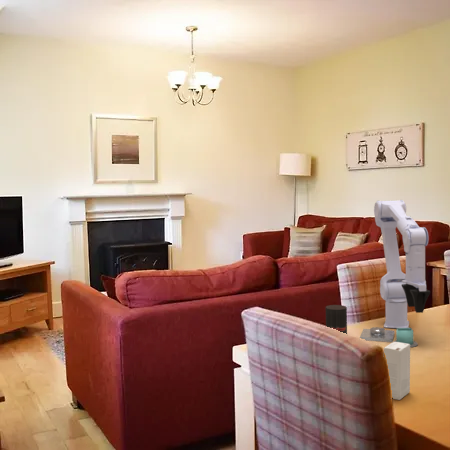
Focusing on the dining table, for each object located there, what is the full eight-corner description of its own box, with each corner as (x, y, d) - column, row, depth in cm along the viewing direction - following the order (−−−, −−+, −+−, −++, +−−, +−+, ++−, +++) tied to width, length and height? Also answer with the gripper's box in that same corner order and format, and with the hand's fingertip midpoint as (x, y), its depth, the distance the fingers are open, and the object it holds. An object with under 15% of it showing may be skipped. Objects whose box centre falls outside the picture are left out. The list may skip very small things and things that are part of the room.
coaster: (394, 340, 174) (394, 338, 174) (417, 341, 171) (417, 340, 171) (393, 346, 167) (393, 345, 167) (417, 348, 165) (417, 347, 165)
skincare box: (393, 388, 134) (392, 340, 133) (411, 393, 131) (410, 343, 130) (382, 396, 129) (382, 346, 128) (400, 401, 127) (400, 350, 126)
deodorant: (347, 362, 155) (346, 309, 153) (326, 361, 156) (325, 309, 155) (347, 355, 160) (346, 305, 159) (326, 354, 162) (325, 304, 160)
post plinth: (363, 331, 185) (363, 324, 184) (394, 333, 181) (394, 326, 181) (359, 339, 175) (359, 332, 175) (392, 342, 172) (392, 334, 172)
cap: (410, 340, 172) (410, 325, 171) (415, 345, 167) (415, 330, 166) (394, 340, 172) (394, 326, 172) (398, 345, 167) (398, 330, 167)
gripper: (395, 263, 178) (396, 304, 179) (409, 270, 163) (409, 315, 165) (417, 262, 178) (417, 303, 179) (433, 270, 163) (433, 314, 164)
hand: (415, 309), depth 172 cm, fingers open, 7 cm apart
